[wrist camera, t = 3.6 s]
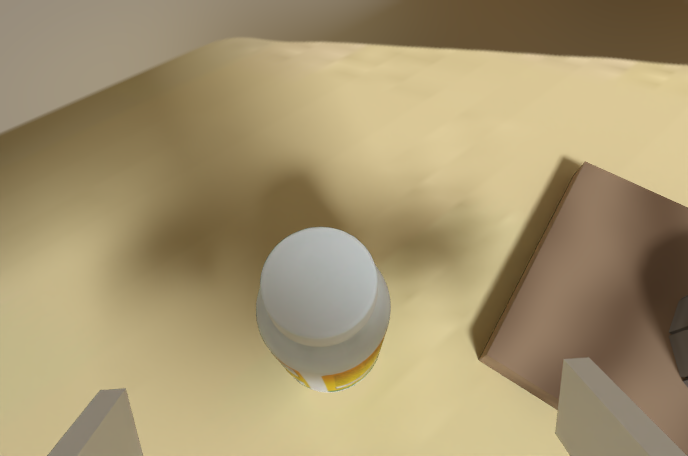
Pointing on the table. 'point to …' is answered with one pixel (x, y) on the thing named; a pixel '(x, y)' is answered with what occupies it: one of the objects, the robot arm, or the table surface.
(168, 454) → the table surface
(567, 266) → the collar board
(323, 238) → the supplement bottle
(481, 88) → the table surface
